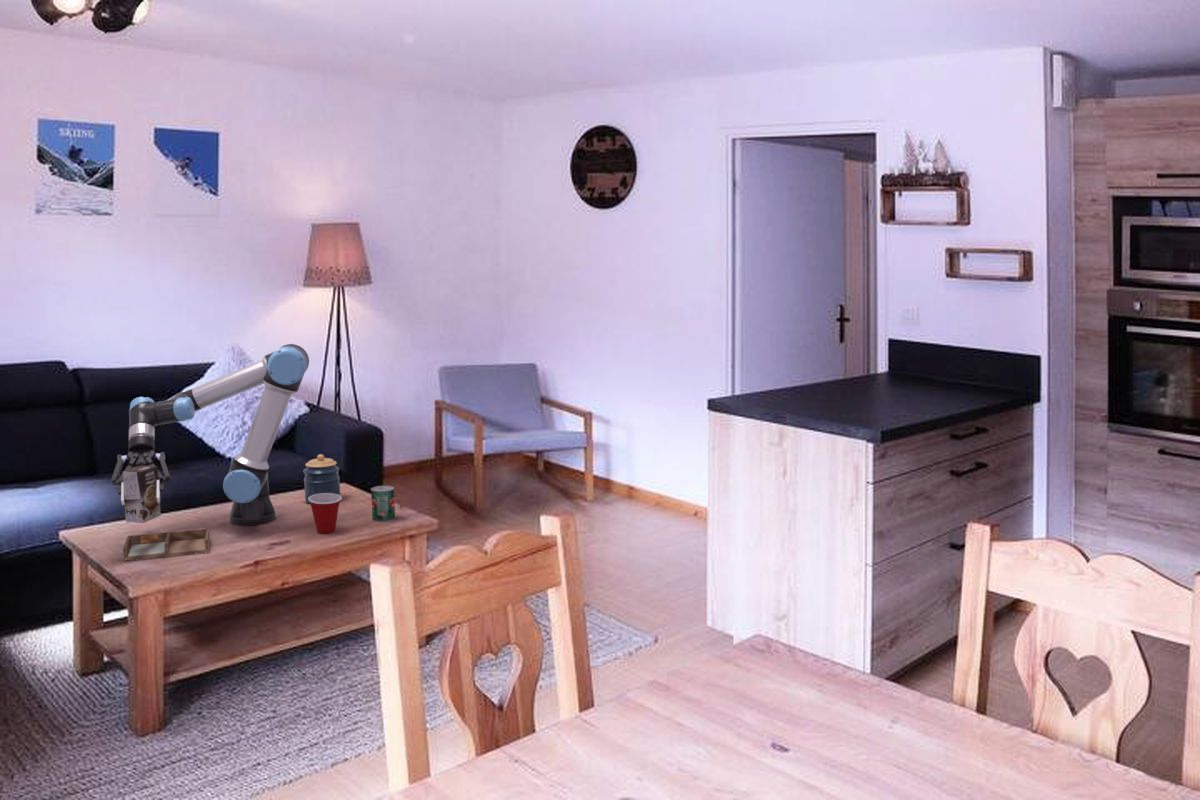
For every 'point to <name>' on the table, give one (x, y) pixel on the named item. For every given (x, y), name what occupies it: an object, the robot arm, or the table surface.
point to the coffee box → (141, 494)
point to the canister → (321, 477)
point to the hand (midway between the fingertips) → (140, 501)
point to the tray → (166, 544)
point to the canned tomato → (383, 503)
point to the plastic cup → (325, 511)
